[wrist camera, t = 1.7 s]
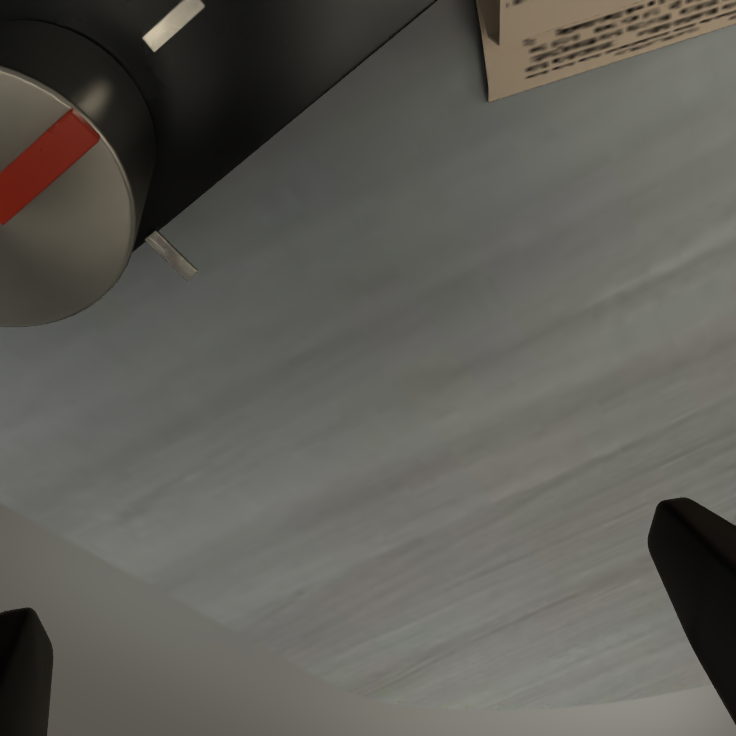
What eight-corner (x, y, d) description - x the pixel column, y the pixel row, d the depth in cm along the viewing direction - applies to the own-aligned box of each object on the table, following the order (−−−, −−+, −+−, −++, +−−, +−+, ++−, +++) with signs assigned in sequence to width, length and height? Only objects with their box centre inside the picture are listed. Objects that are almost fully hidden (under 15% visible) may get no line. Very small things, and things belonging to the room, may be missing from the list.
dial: (59, 268, 16) (8, 381, 12) (-119, 116, 14) (-255, 195, 10) (199, 151, 15) (192, 231, 11) (33, -33, 13) (-47, -13, 9)
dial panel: (86, 317, 20) (67, 375, 17) (-295, 0, 15) (-406, 18, 12) (472, 3, 17) (517, 17, 15) (183, -533, 12) (173, -660, 9)
